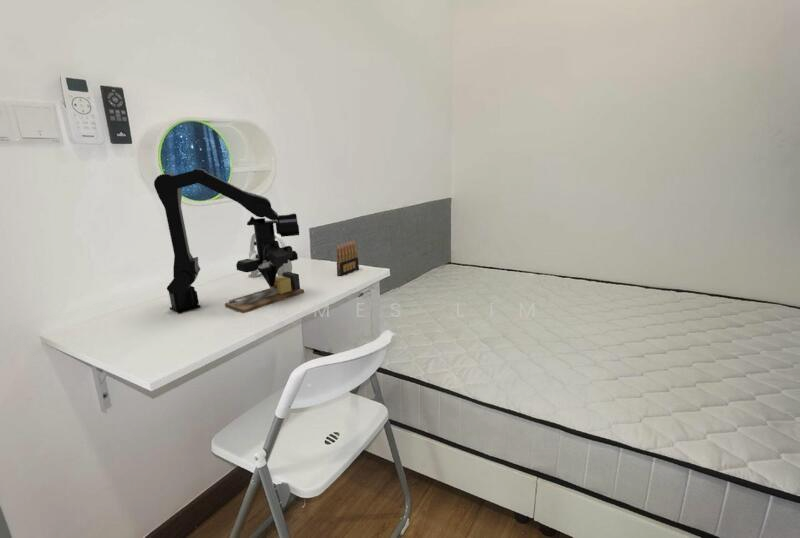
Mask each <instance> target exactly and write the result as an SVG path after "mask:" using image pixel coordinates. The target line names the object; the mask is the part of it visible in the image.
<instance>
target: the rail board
mask: <svg viewBox="0 0 800 538" xmlns="http://www.w3.org/2000/svg"><path fill="white" fill-rule="evenodd" d="M283 277H287V278H290V281H291V290H292V291H289V292H286V293H283V294H280V293H278V289H277V287H276V288H273V289H270V287H269V288H266V289H263V290H260V291H257V292H253V293H250V294H247V295H246V294H245V295H243V296H241V297H237V298H233V299H230V300H228V302H225V303H224V306H225V307H226V308H227V309H228V308H229V309H231V310H233V311H236V312H239V313H241V314H246V313H248V312H251V311H254V310H258V309H260V308H264V307H265V306H270V305H272V304H275V303H278V302H281V301H283V300H288V299H289V298H293V297H295V296H299V295H302V294H305V290H304V289H303V288H301V286H300V284H301V283H300V275H299V273H297V272H296V273H295V272H292V273H291V272H284V273H283Z"/></svg>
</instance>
